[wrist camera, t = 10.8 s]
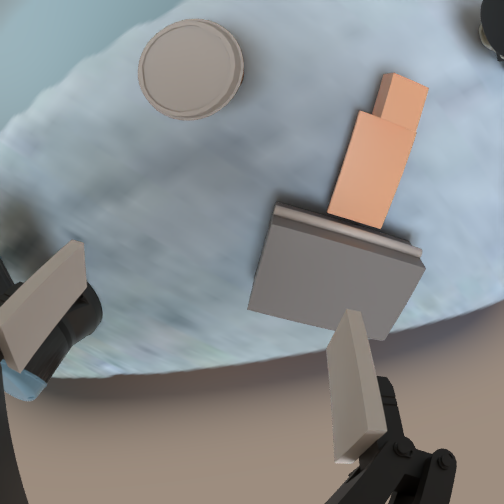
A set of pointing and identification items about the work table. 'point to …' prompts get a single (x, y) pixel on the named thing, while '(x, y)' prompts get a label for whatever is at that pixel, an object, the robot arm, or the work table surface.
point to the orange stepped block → (378, 152)
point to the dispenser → (333, 272)
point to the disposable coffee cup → (191, 69)
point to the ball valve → (493, 26)
